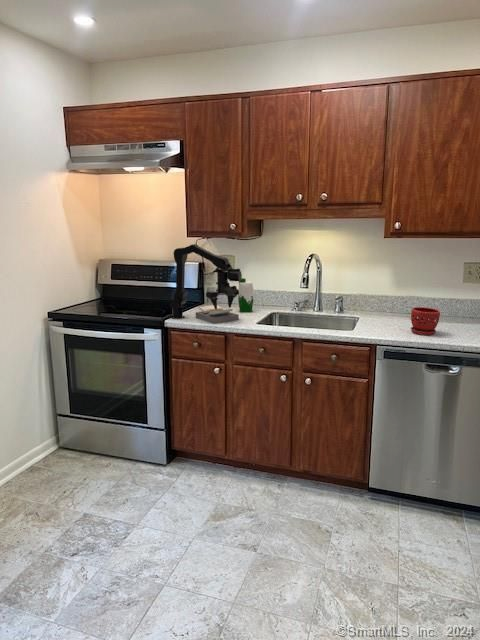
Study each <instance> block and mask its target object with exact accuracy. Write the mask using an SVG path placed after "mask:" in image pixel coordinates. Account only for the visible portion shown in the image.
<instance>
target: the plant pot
mask: <svg viewBox="0 0 480 640" xmlns="http://www.w3.org/2000/svg"><path fill="white" fill-rule="evenodd" d="M410 314H411V315H410V320H411V321H410V322H411V327H410V330H411V332H412V333H413V334H417V335H423V336H429V335H434V334H435V333H436V331H437V330H436V328H437V326H438V324H439V322H440V318H441V317H440V315H441V311H440V310H439V309H435V308H431V307H420V306H418V307H412V308H411V312H410Z"/></svg>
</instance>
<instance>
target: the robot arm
mask: <svg viewBox="0 0 480 640" xmlns="http://www.w3.org/2000/svg"><path fill="white" fill-rule="evenodd" d="M192 253H194V254H196V255H198V256H200V257H202V259H203V258H204V259H205V260H207V261H209V262H211V263H212V264H213V266H215V267H216V268H215V269H214V270H213V273H217V275H216V276H217V277H216V279H217V280H216V282H215V285H217V288H216V290H215V291H213V290H209V291H206V292H205V297H206V298H208V299H209V300H210V301H211V303H212V305H213V306H214V308H215V310H217V305H218V299H219V298H218V296H223V295H224V296H227V303H228V304H227V305H228V309H231V307H232V304H233V301H234V299H235V298H236V297H238V295H239V291H238V290H239V289H237V286H236V285H232V286H231V285H230V282H239V281H241V278H243V275H242V271H241V268H233V266H232V265H231V264H230V262H229V258H227V257H225V256H222V255H218V254H215V253H212V252H210V251H209V250H207V249H205V248H203V247H201V246H200V245H197V244H196V243H195V244H190V245H188V246H185V247H178V248H176V249H174V251H173V259H174V262H175V264H176V267H175V271H176V272H175V274H176V275H175V277H176V278H175V291H174V293H173V296H172V301H171V302H170V303H169V304H168V305H169V308H170V309H171V311H172V312H171V313H172V314H171V316H173V317H174V318H173V319H175V318H177V319H182V317H183V318H185V315H183V307H184V306H185V303H187V300H188V299H189V297H188V295H189V292H188V291H186V289H185V278H186V277H185V272H186V271H185V267H186V266H185V265H186V263H187V260H188V255H190V254H192ZM228 280H229V281H228Z"/></svg>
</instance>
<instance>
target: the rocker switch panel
mask: <svg viewBox="0 0 480 640" xmlns="http://www.w3.org/2000/svg"><path fill="white" fill-rule="evenodd" d="M239 316H240V314H238V313H234V312H232V311H230V312H229V313H224V314H217V315H212V314H209V312H208V313H204V312H202V311H195V318H196V319H199V320H202V321H206V322H208V323H211V324H213V325H214V324H222V323H228V322H233V321H234V322H235V321H239V319H240V317H239Z"/></svg>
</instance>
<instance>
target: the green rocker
mask: <svg viewBox="0 0 480 640" xmlns="http://www.w3.org/2000/svg"><path fill="white" fill-rule="evenodd" d="M233 311H234V310H233V308H227V309H222V310H220V311H213V312H209V314H212V315H217V314H224V313H229V312H233Z"/></svg>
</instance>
